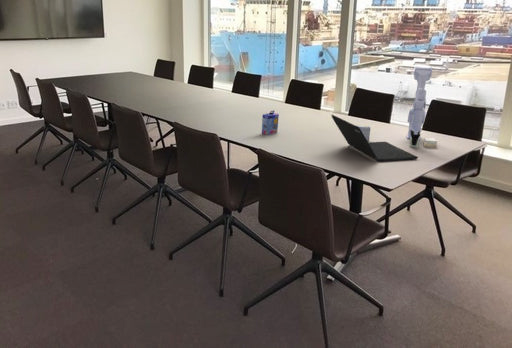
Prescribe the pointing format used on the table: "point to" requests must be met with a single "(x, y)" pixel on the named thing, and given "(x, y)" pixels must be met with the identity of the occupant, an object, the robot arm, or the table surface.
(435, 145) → the bottom slab
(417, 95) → the robot arm
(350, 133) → the laptop
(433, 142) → the top slab
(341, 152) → the table surface
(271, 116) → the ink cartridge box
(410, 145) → the cube
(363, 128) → the medicine box
